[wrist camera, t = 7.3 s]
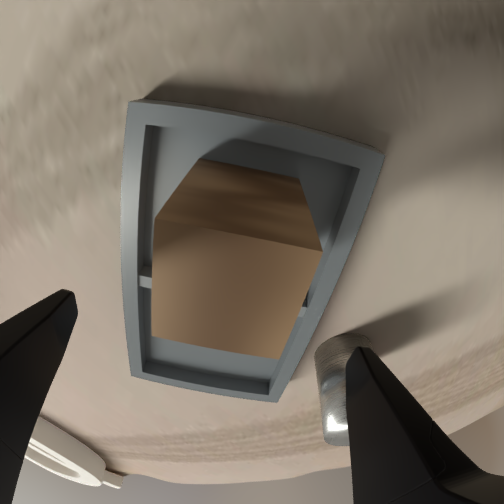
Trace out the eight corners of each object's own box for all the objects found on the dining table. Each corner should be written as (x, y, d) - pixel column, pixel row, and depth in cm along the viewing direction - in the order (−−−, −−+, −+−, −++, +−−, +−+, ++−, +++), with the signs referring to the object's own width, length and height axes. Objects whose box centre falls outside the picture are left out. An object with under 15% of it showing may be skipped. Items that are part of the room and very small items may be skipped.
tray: (373, 146, 15) (385, 155, 13) (277, 385, 25) (277, 402, 23) (142, 98, 14) (128, 101, 12) (137, 359, 24) (131, 375, 22)
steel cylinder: (381, 336, 22) (406, 413, 16) (356, 373, 24) (371, 444, 18) (326, 330, 21) (342, 415, 15) (306, 369, 24) (313, 446, 18)
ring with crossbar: (131, 476, 47) (126, 495, 43) (41, 452, 50) (35, 466, 46) (46, 406, 33) (35, 432, 29) (-35, 382, 36) (-44, 398, 32)
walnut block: (299, 178, 15) (323, 252, 9) (274, 261, 18) (279, 359, 12) (199, 158, 15) (154, 217, 9) (187, 244, 17) (151, 335, 11)
